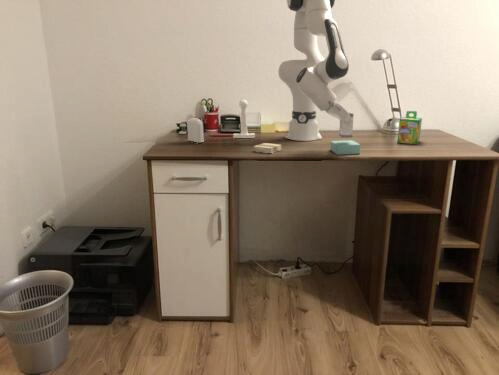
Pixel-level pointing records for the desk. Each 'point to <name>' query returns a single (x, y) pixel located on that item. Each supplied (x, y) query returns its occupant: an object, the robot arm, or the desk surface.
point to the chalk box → (409, 129)
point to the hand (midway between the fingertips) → (347, 123)
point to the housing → (346, 128)
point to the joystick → (244, 122)
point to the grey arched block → (195, 130)
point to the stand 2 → (345, 147)
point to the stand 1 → (267, 148)
